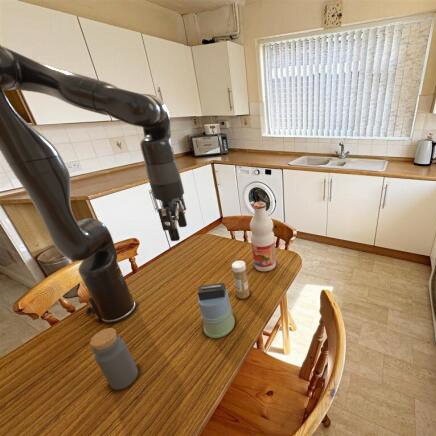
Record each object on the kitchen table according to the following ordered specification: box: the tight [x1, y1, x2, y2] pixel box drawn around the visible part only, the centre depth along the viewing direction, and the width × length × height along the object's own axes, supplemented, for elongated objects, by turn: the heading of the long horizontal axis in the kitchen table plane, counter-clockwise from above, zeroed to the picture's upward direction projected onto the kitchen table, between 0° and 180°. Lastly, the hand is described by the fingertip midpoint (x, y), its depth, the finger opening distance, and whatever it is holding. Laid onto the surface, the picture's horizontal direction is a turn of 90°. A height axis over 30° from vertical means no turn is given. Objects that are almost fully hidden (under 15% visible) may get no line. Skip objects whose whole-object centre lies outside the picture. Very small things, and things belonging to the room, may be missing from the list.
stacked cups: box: [197, 289, 236, 339], centre depth 71 cm, size 9×9×12 cm
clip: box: [197, 282, 227, 301], centre depth 68 cm, size 7×3×3 cm, turn 99°
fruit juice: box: [249, 201, 277, 272], centre depth 95 cm, size 9×9×28 cm
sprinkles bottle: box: [231, 260, 250, 300], centre depth 82 cm, size 5×5×14 cm
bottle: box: [89, 327, 139, 391], centre depth 57 cm, size 6×6×15 cm
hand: (179, 233), depth 69 cm, fingers open, 8 cm apart
